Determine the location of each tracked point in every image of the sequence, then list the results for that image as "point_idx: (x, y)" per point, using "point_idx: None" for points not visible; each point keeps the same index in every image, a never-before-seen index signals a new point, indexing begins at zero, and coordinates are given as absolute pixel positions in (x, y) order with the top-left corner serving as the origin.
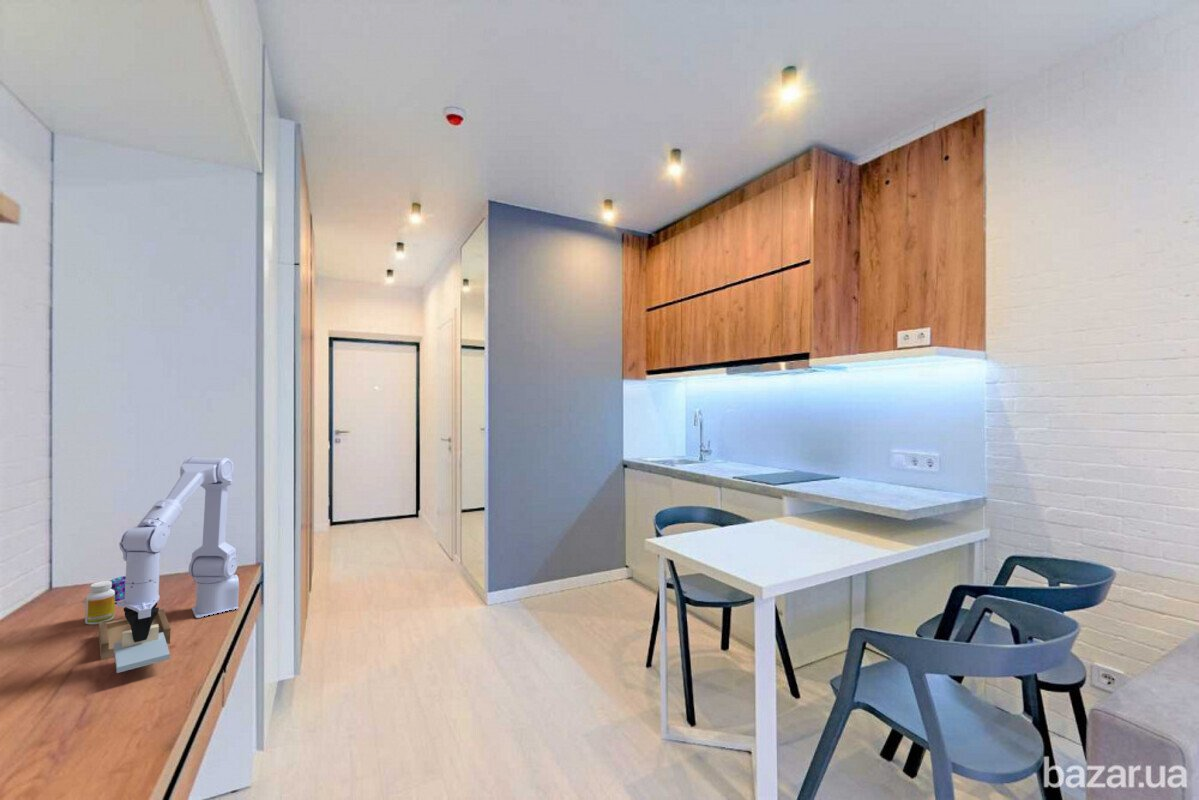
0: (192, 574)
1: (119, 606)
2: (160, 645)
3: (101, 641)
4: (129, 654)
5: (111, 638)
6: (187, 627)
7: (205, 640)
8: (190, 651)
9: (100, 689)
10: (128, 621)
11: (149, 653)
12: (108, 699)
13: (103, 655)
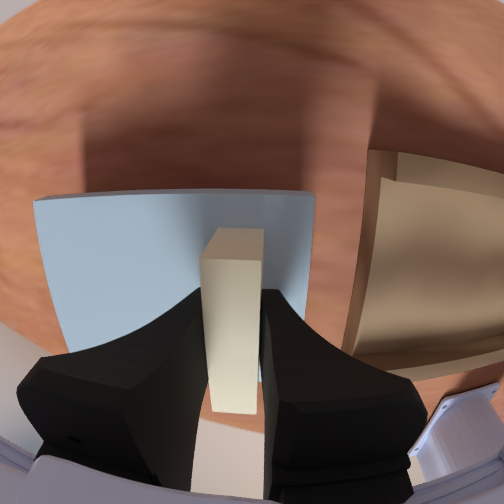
0: None
1: (31, 473)
2: None
3: (432, 158)
4: (117, 249)
5: (476, 204)
6: (414, 384)
7: None
8: None
9: (94, 143)
10: (69, 353)
11: (95, 311)
12: (30, 171)
13: (374, 158)
